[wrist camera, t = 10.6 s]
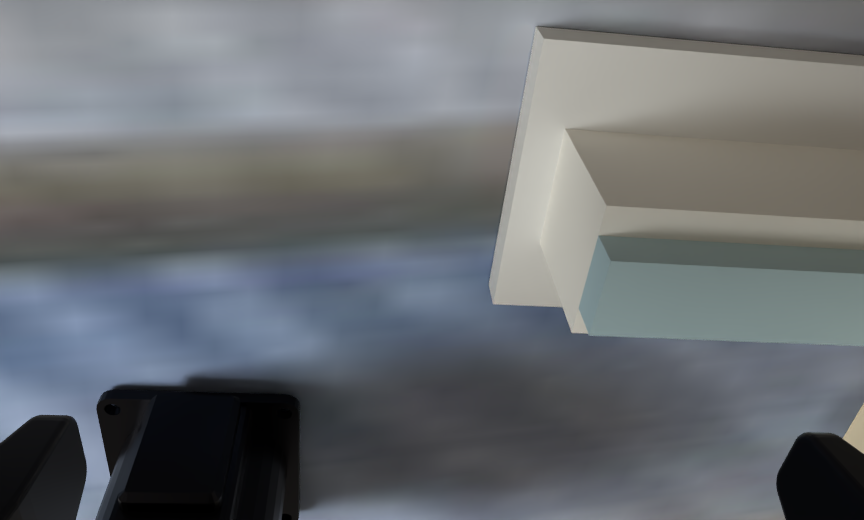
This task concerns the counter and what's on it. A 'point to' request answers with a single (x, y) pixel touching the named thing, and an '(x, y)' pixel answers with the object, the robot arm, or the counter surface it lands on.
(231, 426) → the robot arm
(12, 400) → the counter surface
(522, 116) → the ridge stand
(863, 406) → the birch bar
